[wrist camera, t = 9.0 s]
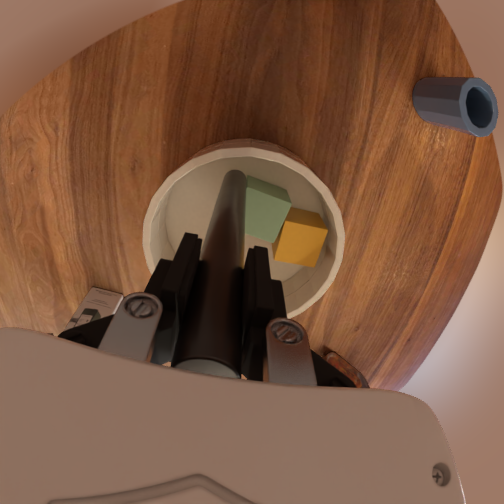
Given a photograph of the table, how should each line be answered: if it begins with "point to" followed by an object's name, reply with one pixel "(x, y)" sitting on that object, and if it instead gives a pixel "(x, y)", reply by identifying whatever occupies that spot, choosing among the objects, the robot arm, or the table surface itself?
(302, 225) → the mustard cube
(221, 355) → the stirring stick
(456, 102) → the holder
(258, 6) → the table surface
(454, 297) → the table surface
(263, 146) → the bowl
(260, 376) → the robot arm
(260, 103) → the table surface
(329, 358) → the tin
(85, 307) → the ink box
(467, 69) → the table surface
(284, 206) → the sage cube
